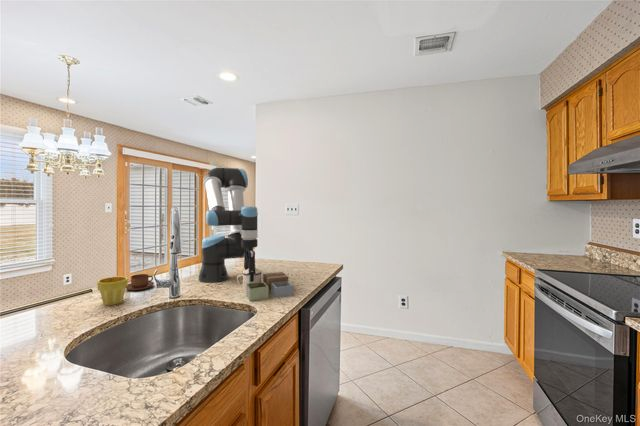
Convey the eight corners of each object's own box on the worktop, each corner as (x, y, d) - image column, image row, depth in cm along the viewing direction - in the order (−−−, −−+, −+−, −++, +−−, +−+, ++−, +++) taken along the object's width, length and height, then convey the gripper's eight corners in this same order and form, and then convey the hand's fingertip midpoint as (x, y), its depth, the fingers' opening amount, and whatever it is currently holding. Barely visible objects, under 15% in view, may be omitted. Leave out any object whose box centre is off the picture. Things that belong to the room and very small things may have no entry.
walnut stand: (263, 287, 148) (263, 273, 147) (282, 285, 152) (282, 271, 151) (267, 293, 138) (267, 278, 138) (288, 291, 142) (288, 276, 142)
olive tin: (246, 297, 133) (246, 283, 133) (264, 295, 136) (264, 282, 136) (249, 302, 126) (249, 288, 125) (268, 300, 129) (268, 286, 129)
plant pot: (131, 302, 124) (130, 279, 124) (101, 308, 117) (100, 284, 116) (124, 296, 131) (123, 274, 131) (95, 302, 124) (94, 279, 123)
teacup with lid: (264, 287, 148) (264, 264, 147) (258, 293, 139) (258, 268, 138) (240, 286, 149) (240, 263, 148) (233, 292, 140) (233, 267, 139)
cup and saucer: (140, 284, 152) (140, 272, 151) (159, 286, 148) (159, 274, 148) (118, 290, 140) (118, 278, 140) (139, 293, 137) (139, 280, 136)
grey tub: (271, 293, 139) (271, 282, 138) (287, 291, 142) (287, 281, 142) (275, 298, 131) (275, 287, 131) (292, 296, 134) (293, 285, 134)
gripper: (238, 236, 151) (238, 280, 151) (245, 241, 131) (245, 292, 131) (253, 236, 154) (253, 279, 154) (262, 241, 134) (262, 290, 134)
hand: (249, 285), depth 143 cm, fingers closed on teacup with lid, 9 cm apart
